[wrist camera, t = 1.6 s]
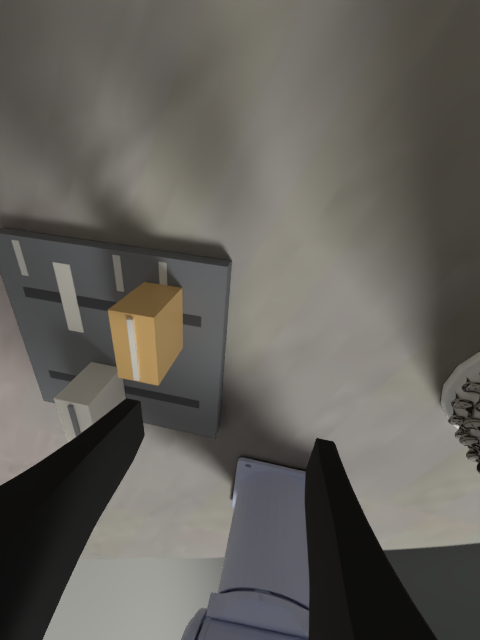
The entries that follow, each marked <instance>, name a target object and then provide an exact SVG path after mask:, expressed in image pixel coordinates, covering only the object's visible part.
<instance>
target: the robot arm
mask: <svg viewBox="0 0 480 640" xmlns="http://www.w3.org/2000/svg"><path fill="white" fill-rule="evenodd" d="M144 435H145V434H144V426H143V417H142V409H141V401H138V400H133V399H128V398H126V399H125V400H123V401H122V402H121V403H119V404H118V405H117V406H115V407H114V408H113V409H112V410H110V411H109V412H108V413H107V414H105V415H104V416H103V417H101V418H100V419H99V420H98V421H96V422H95V423H94V424H92V425H91V426H90V427H88V428H87V429H86V430H84V431H83V432H82V433H80V434H79V435H78V436H76V437H75V438H74V439H72V440H71V441H70V442H68V443H67V444H65V445H64V446H62V447H61V448H60V449H58V450H57V451H55V452H54V453H52V454H51V455H49V456H48V457H46V458H45V459H43V460H42V461H40V462H39V463H37V464H36V465H34V466H33V467H31V468H29V469H28V470H26V471H24V472H23V473H21V474H20V475H18V476H16V477H15V478H13V479H11V480H9V481H8V482H6V483H4V484H2V485H1V486H0V640H42V639H43V637H44V635H45V632H46V630H47V628H48V625H49V623H50V621H51V618H52V616H53V614H54V612H55V610H56V607H57V605H58V603H59V601H60V598H61V596H62V594H63V591H64V589H65V587H66V585H67V583H68V581H69V579H70V576H71V574H72V572H73V570H74V568H75V566H76V564H77V561H78V559H79V557H80V555H81V553H82V551H83V549H84V547H85V545H86V543H87V541H88V539H89V537H90V535H91V533H92V531H93V529H94V527H95V525H96V523H97V521H98V520H99V518H100V516H101V514H102V513H103V511H104V509H105V508H106V506H107V504H108V503H109V501H110V499H111V498H112V496H113V494H114V492H115V491H116V489H117V487H118V486H119V484H120V482H121V481H122V479H123V477H124V476H125V474H126V472H127V470H128V469H129V467H130V465H131V464H132V462H133V460H134V458H135V456H136V454H137V451H138V449H139V447H140V445H141V442H142V440H143V438H144ZM232 507H233V508H234V512H233V517H232V522H231V528H230V533H229V538H228V543H227V548H226V553H225V559H224V564H223V569H222V574H221V579H220V584H219V590H218V593H211V594H210V599H209V604H208V608H207V609H206V608H201V609H200V610H198V612H197V613H196V614H195V616H194V617H193V618H192V619H191V620H190V622H189V623H188V625H187V627H186V629H185V631H184V633H183V636H182V639H181V640H438V639H437V638H436V636H435V635H434V633H433V632H432V630H431V629H430V627H429V626H428V624H427V623H426V621H425V620H424V618H423V617H422V615H421V613H420V612H419V611H418V609H417V607H416V606H415V604H414V603H413V601H412V599H411V598H410V596H409V594H408V593H407V591H406V589H405V588H404V586H403V585H402V583H401V581H400V580H399V578H398V576H397V575H396V573H395V571H394V569H393V567H392V566H391V564H390V562H389V561H388V559H387V557H386V555H385V553H384V552H383V550H382V548H381V546H380V544H379V542H378V540H377V538H376V536H375V535H374V533H373V531H372V529H371V527H370V525H369V523H368V521H367V519H366V517H365V515H364V513H363V510H362V508H361V506H360V504H359V502H358V500H357V497H356V495H355V493H354V491H353V489H352V486H351V484H350V482H349V479H348V477H347V474H346V472H345V469H344V467H343V464H342V462H341V459H340V456H339V454H338V451H337V448H336V445H335V443H334V442H333V441H328V440H323V439H319V438H316V441H315V444H314V447H313V450H312V453H311V456H310V460H309V463H308V466H307V469H306V472H305V471H301V470H296V469H292V468H287V467H283V466H279V465H274V464H270V463H265V462H261V461H256V460H252V459H248V458H239V459H238V462H237V470H236V477H235V485H234V493H233V500H232Z"/></svg>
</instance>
